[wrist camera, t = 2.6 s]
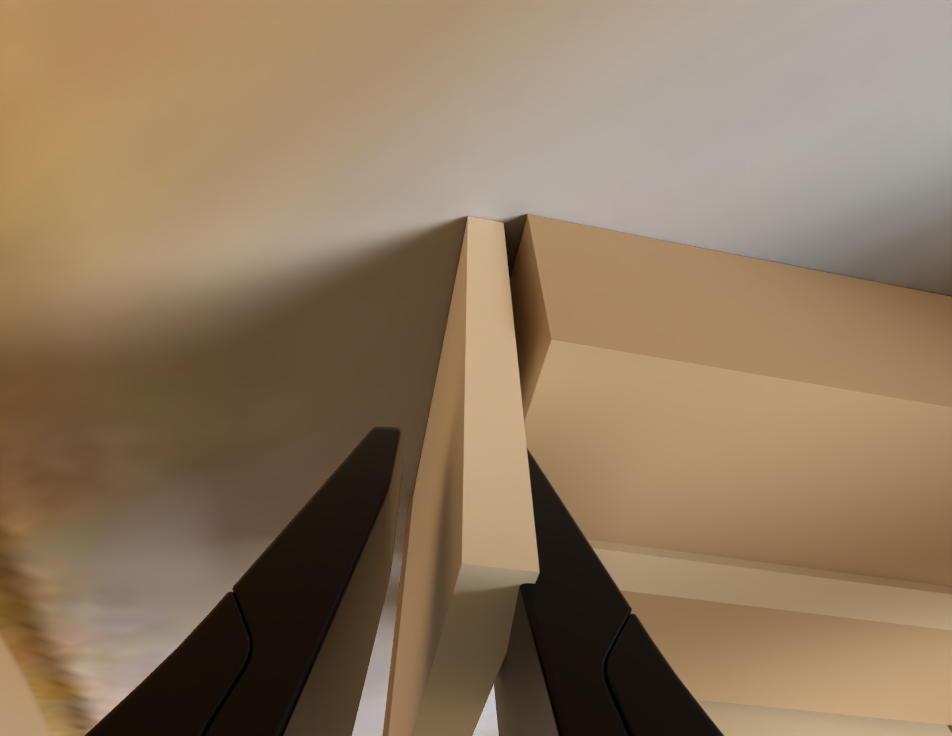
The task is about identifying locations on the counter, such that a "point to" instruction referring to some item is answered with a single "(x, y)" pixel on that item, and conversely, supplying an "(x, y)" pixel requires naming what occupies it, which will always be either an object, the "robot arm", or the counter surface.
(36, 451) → the counter surface
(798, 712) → the side flap
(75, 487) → the counter surface
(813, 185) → the counter surface
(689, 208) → the counter surface
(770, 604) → the carton
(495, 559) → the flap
